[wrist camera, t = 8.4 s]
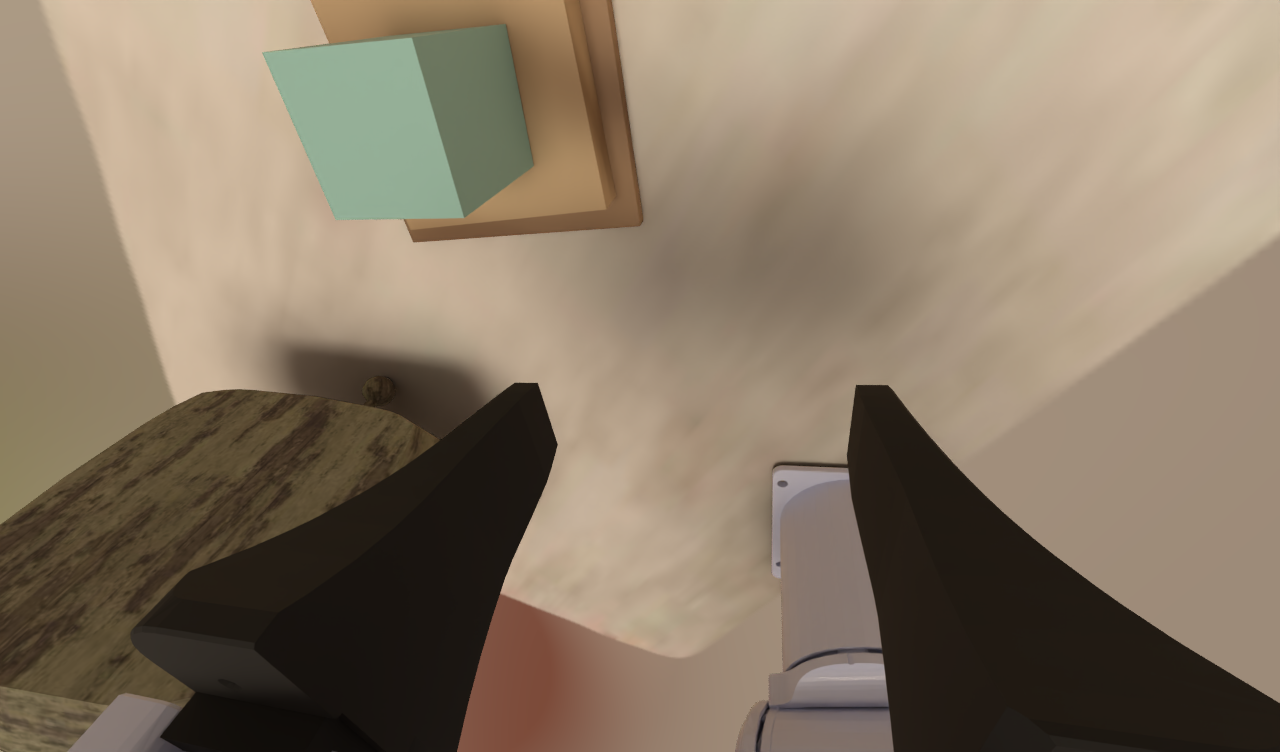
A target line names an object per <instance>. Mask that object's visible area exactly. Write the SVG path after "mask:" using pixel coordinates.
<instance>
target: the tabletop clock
mask: <svg viewBox="0 0 1280 752" xmlns="http://www.w3.org/2000/svg"><path fill="white" fill-rule="evenodd" d="M395 393H396V390H395V387H394V385H393V383H392V381H391V380H390V379H388V378H385V377H383V376H376V377H373V378H370V379H368V380H367V382H366V383H365V385H364V386H363V389H362V394H363V396H364V398H365V399H366V403H365V404H364V405H359V404H354V403H348V402H343V401H338V400H332V399H327V398H322V397H316V396H307V395H297V394H287V393H277V392H267V391H257V390H242V389H237V390H221V391H213V392H205V393H201V394H199V395H197V396H195V397H193V398H190V399H188V400H186V401H184V402H182V403H180V404H178V405H176V406H174V407H172V408H170V409H169V410H167V411H165V412H164V413H162V414H160V415H158V416H157V417H155V418H153V419H152V420H150V421H148V422H147V423H145V424H143V425H142V426H140V427H139V428H137V429H136V430H135V431H133V432H131V433H130V434H128V435H127V436H125V437H124V438H122V439H121V440H119V441H118V442H116V443H115V444H113V445H112V446H110V447H109V448H107V449H106V450H104V451H103V452H102V453H100V454H98V455H97V456H95V457H94V458H93V459H91V460H89V461H88V462H87V463H85V464H84V465H82V466H81V467H79V468H78V469H76V470H75V471H73V472H72V473H70V474H69V475H67V476H66V477H64V478H63V479H61V480H60V481H59V482H57V483H56V484H55V485H53V486H52V487H51V488H49V489H48V490H46V491H45V492H44V493H42V494H41V495H40V496H38V497H37V498H36V499H35V500H33V501H32V502H30V503H29V504H28V505H26V506H25V507H24V508H22V509H21V510H20V511H18V512H17V513H16V514H14V515H13V516H12V517H10V518H9V519H8V520H6V521H5V522H4V523H2V524H1V525H0V750H1V751H3V752H67V751H68V750H69V749H70V748H71V747H72V746H73V745H74V744H75V743H76V741H77V740H78V739H79V738H80V737H81V736H82V735H83V734H84V733H85V732H86V730H87V729H88V728H89V727H90V726H91V725H92V724H93V723H94V722H95V721H96V719H97V718H98V717H99V716H100V715H101V714H102V713H103V712H104V711H105V710H106V709H107V707H108V706H109V705H110V704H111V703H112V702H113V701H114V700H115V699H116V698H117V696H118V695H120V694H124V693H129V694H134V695H139V696H144V697H149V698H154V699H158V700H163V701H167V702H170V703H173V704H175V705H178V706H180V707H182V708H183V707H184V706H185V705H186V704H187V702H188V701H189V700H190V699H191V697H192V696H193V695H194V694H195V693H196V692H195V691H193V690H192V689H190V688H189V687H188V686H186V685H185V684H183V683H182V682H180V681H179V680H177V679H176V678H175V677H173V676H172V675H170V674H169V673H167V672H166V671H164V670H163V669H162V668H160V667H159V666H157V665H156V664H154V663H153V662H152V661H150V660H149V659H148V658H146V657H145V656H144V655H143V654H141V653H140V652H139V651H138V650H137V649H136V648H135V646H134V645H133V644H132V641H131V638H130V632H131V631H132V629H133V628H134V627H135V626H136V625H137V624H138V623H139V622H140V621H141V620H142V619H143V618H144V617H145V616H146V615H147V614H148V612H149V611H150V610H151V609H152V608H153V607H154V606H155V605H156V604H157V603H158V602H159V601H160V600H161V599H162V598H163V597H164V596H165V595H166V594H167V593H168V592H169V591H170V590H171V589H172V588H173V587H174V586H175V585H176V584H177V583H178V582H179V581H180V580H181V579H182V578H183V577H184V576H185V575H186V574H187V573H188V572H189V571H191V570H194V569H197V568H199V567H202V566H205V565H207V564H210V563H212V562H215V561H217V560H220V559H222V558H225V557H227V556H230V555H233V554H235V553H238V552H240V551H243V550H245V549H248V548H250V547H253V546H255V545H257V544H260V543H262V542H264V541H267V540H269V539H271V538H273V537H276V536H278V535H280V534H282V533H284V532H287V531H289V530H291V529H293V528H295V527H297V526H299V525H301V524H304V523H306V522H308V521H310V520H312V519H314V518H316V517H318V516H320V515H322V514H323V513H325V512H327V511H329V510H331V509H333V508H335V507H336V506H338V505H340V504H342V503H344V502H346V501H348V500H349V499H351V498H353V497H355V496H357V495H359V494H360V493H362V492H364V491H366V490H367V489H369V488H371V487H372V486H374V485H376V484H377V483H379V482H380V481H382V480H384V479H385V478H387V477H389V476H390V475H392V474H393V473H395V472H396V471H398V470H399V469H401V468H402V467H404V466H405V465H407V464H408V463H410V462H411V461H413V460H414V459H415V458H417V457H418V456H419V455H421V454H422V453H424V452H425V451H426V450H428V449H429V448H430V447H432V446H433V445H435V444H436V443H437V442H439V441H440V439H438V438H436V437H435V436H433V435H432V434H430V433H428V432H427V431H425V430H423V429H422V428H420V427H419V426H417V425H415V424H414V423H412V422H410V421H409V420H407V419H406V418H404V417H402V416H401V415H398V414H396V413H393V412H391V411H388V410H384V409H380V408H375V407H376V406H383V405H386V404H388V403H390V401H391V400H392V399H393V397H394V396H395Z"/></svg>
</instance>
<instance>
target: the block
mask: <svg viewBox="0 0 1280 752" xmlns="http://www.w3.org/2000/svg"><path fill="white" fill-rule="evenodd" d="M263 56H264V58H265V60H266V62H267V65H268V67H269V69H270V72H271V74H272V76H273V78H274V81H275V83H276V85H277V87H278V90H279V92H280V94H281V97H282V99H283V101H284V103H285V106H286V108H287V110H288V112H289V115H290V117H291V119H292V122H293V124H294V126H295V128H296V131H297V133H298V135H299V137H300V140H301V142H302V144H303V146H304V149H305V151H306V153H307V156H308V158H309V160H310V162H311V165H312V167H313V169H314V171H315V174H316V176H317V178H318V181H319V183H320V185H321V187H322V190H323V192H324V194H325V196H326V199H327V201H328V203H329V206H330V208H331V210H332V212H333V215H334V217H335V219H336V220H364V219H442V218H465V217H467V216H468V215H469V214H471V213H472V212H473V211H475V210H476V209H477V208H479V207H480V206H481V205H483V204H484V203H485V202H487V201H488V200H489V199H491V198H492V197H493V196H495V195H496V194H497V193H499V192H500V191H501V190H503V189H504V188H505V187H507V186H508V185H509V184H511V183H512V182H513V181H515V180H516V179H517V178H519V177H520V176H521V175H523V174H524V173H525V172H527V171H528V170H529V169H531V168H532V167H533V166H534V164H533V159H532V154H531V149H530V144H529V139H528V134H527V129H526V124H525V119H524V114H523V109H522V103H521V98H520V93H519V88H518V83H517V78H516V73H515V68H514V63H513V58H512V53H511V48H510V43H509V38H508V33H507V28H506V24H500V25H491V26H481V27H471V28H461V29H451V30H441V31H432V32H422V33H412V34H402V35H392V36H384V37H376V38H368V39H361V40H353V41H346V42H338V43H331V44H323V45H316V46H308V47H300V48H293V49H285V50H278V51H270V52H263Z"/></svg>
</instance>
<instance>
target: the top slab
mask: <svg viewBox="0 0 1280 752" xmlns="http://www.w3.org/2000/svg"><path fill="white" fill-rule="evenodd" d="M311 2H312V5H313V7H314V9H315V12H316V14H317V16H318V18H319V21H320V23H321V25H322V28H323V30H324V32H325V35H326V37H327V39H328V41H329V44H331V43H338V42H346V41H353V40H361V39H368V38H376V37H384V36H392V35H402V34H412V33H422V32H432V31H441V30H451V29H461V28H471V27H481V26H491V25H500V24H506V28H507V33H508V38H509V43H510V48H511V53H512V58H513V63H514V68H515V73H516V78H517V83H518V88H519V93H520V98H521V103H522V109H523V114H524V119H525V124H526V129H527V134H528V139H529V144H530V149H531V154H532V159H533V164H534V166H533V167H532V168H531V169H529V170H528V171H527V172H525V173H524V174H523V175H521V176H520V177H519V178H517V179H516V180H515V181H513V182H512V183H511V184H509V185H508V186H507V187H505V188H504V189H503V190H501V191H500V192H499V193H497V194H496V195H495V196H493V197H492V198H491V199H489V200H488V201H487V202H485V203H484V204H483V205H481V206H480V207H479V208H477V209H476V210H475V211H473V212H472V213H471V214H469V215H468V216H467V217H465V218H442V219H406V221H407V223H408V225H409V228H410V230H416V229H425V228H434V227H444V226H453V225H463V224H472V223H482V222H491V221H501V220H510V219H520V218H529V217H539V216H548V215H558V214H567V213H577V212H586V211H596V210H605V209H607V208H608V207H609V205H610V204H611V202H612V201H613V200H614V198H615V197H616V192H615V187H614V181H613V176H612V171H611V166H610V160H609V155H608V150H607V145H606V139H605V134H604V129H603V124H602V118H601V113H600V108H599V103H598V97H597V92H596V87H595V82H594V77H593V71H592V66H591V61H590V56H589V50H588V45H587V40H586V35H585V29H584V24H583V19H582V14H581V8H580V3H579V0H311Z"/></svg>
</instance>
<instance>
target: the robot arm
mask: <svg viewBox="0 0 1280 752" xmlns="http://www.w3.org/2000/svg"><path fill="white" fill-rule="evenodd" d="M557 445H558V444H557V441H556V438H555V435H554V432H553V429H552V426H551V423H550V419H549V416H548V413H547V410H546V407H545V404H544V401H543V398H542V395H541V392H540V389H539V386H538V383H514V384H513V385H511V386H510V387H508V388H507V389H506V390H504V391H503V392H502V393H500V394H499V395H498V396H496V397H495V398H494V399H492V400H491V401H490V402H489V403H487V404H486V405H485V406H484V407H482V408H481V409H480V410H479V411H477V412H476V413H475V414H474V415H472V416H471V417H470V418H469V419H467V420H466V421H465V422H463V423H462V424H461V425H460V426H458V427H457V428H456V429H455V430H453V431H452V432H451V433H449V434H448V435H447V436H446V437H444V438H443V439H441V440H440V441H439V442H437V443H436V444H435V445H433V446H432V447H430V448H429V449H428V450H426V451H425V452H424V453H422V454H421V455H419V456H418V457H417V458H415V459H414V460H413V461H411V462H410V463H408V464H407V465H405V466H404V467H402V468H401V469H399V470H398V471H396V472H395V473H393V474H392V475H390V476H389V477H387V478H385V479H384V480H382V481H380V482H379V483H377V484H376V485H374V486H372V487H371V488H369V489H367V490H366V491H364V492H362V493H360V494H359V495H357V496H355V497H353V498H351V499H349V500H348V501H346V502H344V503H342V504H340V505H338V506H336V507H335V508H333V509H331V510H329V511H327V512H325V513H323V514H322V515H320V516H318V517H316V518H314V519H312V520H310V521H308V522H306V523H304V524H301V525H299V526H297V527H295V528H293V529H291V530H289V531H287V532H284V533H282V534H280V535H278V536H276V537H273V538H271V539H269V540H267V541H264V542H262V543H260V544H257V545H255V546H253V547H250V548H248V549H245V550H243V551H240V552H238V553H235V554H233V555H230V556H227V557H225V558H222V559H220V560H217V561H215V562H212V563H210V564H207V565H205V566H202V567H199V568H197V569H194V570H191V571H189V572H188V573H187V574H186V575H185V576H184V577H183V578H182V579H181V580H180V581H179V582H178V583H177V584H176V585H175V586H174V587H173V588H172V589H171V590H170V591H169V592H168V593H167V594H166V595H165V596H164V597H163V598H162V599H161V600H160V601H159V602H158V603H157V604H156V605H155V606H154V607H153V608H152V609H151V610H150V611H149V612H148V614H147V615H146V616H145V617H144V618H143V619H142V620H141V621H140V622H139V623H138V624H137V625H136V626H135V627H134V628H133V629H132V631H131V632H130V638H131V641H132V644H133V645H134V646H135V648H136V649H137V650H138V651H139V652H140V653H141V654H143V655H144V656H145V657H146V658H148V659H149V660H150V661H152V662H153V663H154V664H156V665H157V666H159V667H160V668H162V669H163V670H164V671H166V672H167V673H169V674H170V675H172V676H173V677H175V678H176V679H177V680H179V681H180V682H182V683H183V684H185V685H186V686H188V687H189V688H190V689H192V690H193V691H195V692H196V693H195V694H194V695H193V696H192V697H191V699H190V700H189V701H188V702H187V704H186V705H185V706H184V707H183V708H182V707H180V706H178V705H175V704H173V703H170V702H167V701H163V700H158V699H154V698H149V697H144V696H139V695H134V694H129V693H124V694H120V695H118V696H117V698H116V699H115V700H114V701H113V702H112V703H111V704H110V705H109V706H108V707H107V709H106V710H105V711H104V712H103V713H102V714H101V715H100V716H99V717H98V718H97V719H96V721H95V722H94V723H93V724H92V725H91V726H90V727H89V728H88V729H87V730H86V732H85V733H84V734H83V735H82V736H81V737H80V738H79V739H78V740H77V741H76V743H75V744H74V745H73V746H72V747H71V748H70V749H69V750H68V751H67V752H457V749H458V745H459V740H460V736H461V732H462V727H463V723H464V719H465V714H466V710H467V706H468V701H469V698H470V694H471V690H472V687H473V683H474V679H475V675H476V672H477V668H478V664H479V660H480V656H481V653H482V650H483V646H484V643H485V640H486V636H487V633H488V630H489V626H490V622H491V619H492V616H493V613H494V610H495V607H496V604H497V601H498V598H499V595H500V592H501V589H502V586H503V583H504V580H505V577H506V574H507V572H508V569H509V567H510V564H511V562H512V559H513V557H514V555H515V553H516V551H517V548H518V546H519V544H520V542H521V539H522V537H523V535H524V533H525V531H526V528H527V526H528V524H529V522H530V519H531V517H532V515H533V513H534V511H535V508H536V506H537V504H538V501H539V499H540V497H541V495H542V492H543V490H544V488H545V485H546V483H547V480H548V477H549V474H550V470H551V467H552V464H553V460H554V456H555V453H556V449H557ZM847 460H848V468H834V467H811V466H787V465H781V466H777V467H775V468H774V469H773V481H772V575H773V576H774V577H776V578H780V579H781V607H782V608H781V609H782V657H783V658H782V660H783V672H782V673H775V674H770V675H769V701H765V700H762V701H759V702H756V703H755V704H754V705H753V706H752V707H751V709H750V711H749V713H748V715H747V717H746V720H745V721H744V723H743V725H742V727H741V729H740V732H739V735H738V739H737V743H736V749H735V752H1280V703H1278V702H1277V701H1275V700H1273V699H1272V698H1270V697H1268V696H1267V695H1265V694H1263V693H1262V692H1260V691H1258V690H1257V689H1255V688H1254V687H1252V686H1250V685H1249V684H1247V683H1245V682H1244V681H1242V680H1240V679H1239V678H1237V677H1235V676H1234V675H1232V674H1230V673H1228V672H1227V671H1225V670H1224V669H1222V668H1220V667H1219V666H1217V665H1215V664H1214V663H1212V662H1210V661H1209V660H1207V659H1205V658H1204V657H1202V656H1200V655H1199V654H1197V653H1195V652H1194V651H1192V650H1190V649H1189V648H1187V647H1185V646H1184V645H1182V644H1181V643H1179V642H1178V641H1176V640H1174V639H1173V638H1171V637H1170V636H1168V635H1167V634H1165V633H1164V632H1162V631H1161V630H1159V629H1158V628H1156V627H1155V626H1153V625H1152V624H1150V623H1149V622H1147V621H1146V620H1144V619H1143V618H1141V617H1140V616H1138V615H1137V614H1135V613H1134V612H1132V611H1131V610H1129V609H1127V608H1126V607H1124V606H1123V605H1122V604H1120V603H1119V602H1118V601H1116V600H1114V599H1113V598H1112V597H1110V596H1109V595H1108V594H1106V593H1104V592H1103V591H1102V590H1100V589H1099V588H1098V587H1096V586H1095V585H1094V584H1092V583H1091V582H1090V581H1088V580H1087V579H1086V578H1084V577H1083V576H1082V575H1080V574H1079V573H1077V572H1076V571H1075V570H1073V569H1072V568H1071V567H1069V566H1068V565H1067V564H1065V563H1064V562H1063V561H1061V560H1060V559H1059V558H1057V557H1056V556H1054V555H1053V554H1052V553H1051V552H1050V551H1048V550H1047V549H1046V548H1045V547H1043V546H1042V545H1041V544H1040V543H1038V542H1037V541H1036V540H1035V539H1033V538H1032V537H1031V536H1030V535H1029V534H1027V533H1026V532H1025V531H1024V530H1023V529H1022V528H1020V527H1019V526H1018V525H1017V524H1016V523H1015V522H1013V521H1012V520H1011V519H1010V518H1009V517H1008V516H1007V515H1006V514H1004V513H1003V512H1002V511H1001V510H1000V509H999V508H998V507H997V506H996V505H995V504H994V503H993V502H992V501H990V500H989V499H988V498H987V497H986V496H985V495H984V494H983V493H982V492H981V491H980V490H979V489H978V488H977V487H976V486H975V485H974V484H973V483H972V482H971V481H970V480H969V479H968V478H967V477H966V476H965V475H964V474H963V473H962V472H961V471H960V470H959V469H958V467H957V466H956V465H955V464H954V463H953V462H952V461H951V460H950V459H949V458H948V457H947V455H946V454H945V453H944V452H943V451H942V450H941V449H940V448H939V447H938V445H937V444H936V443H935V442H934V441H933V440H932V439H931V437H930V436H929V435H928V434H927V433H926V432H925V430H924V429H923V428H922V427H921V426H920V424H919V423H918V422H917V421H916V419H915V418H914V417H913V416H912V414H911V413H910V412H909V411H908V409H907V408H906V407H905V406H904V404H903V403H902V402H901V400H900V399H899V398H898V396H897V395H896V394H895V392H894V391H893V390H892V389H891V388H890V387H889V386H888V385H856V389H855V397H854V405H853V413H852V420H851V428H850V436H849V444H848V452H847ZM782 480H783V481H784V482H782Z"/></svg>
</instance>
